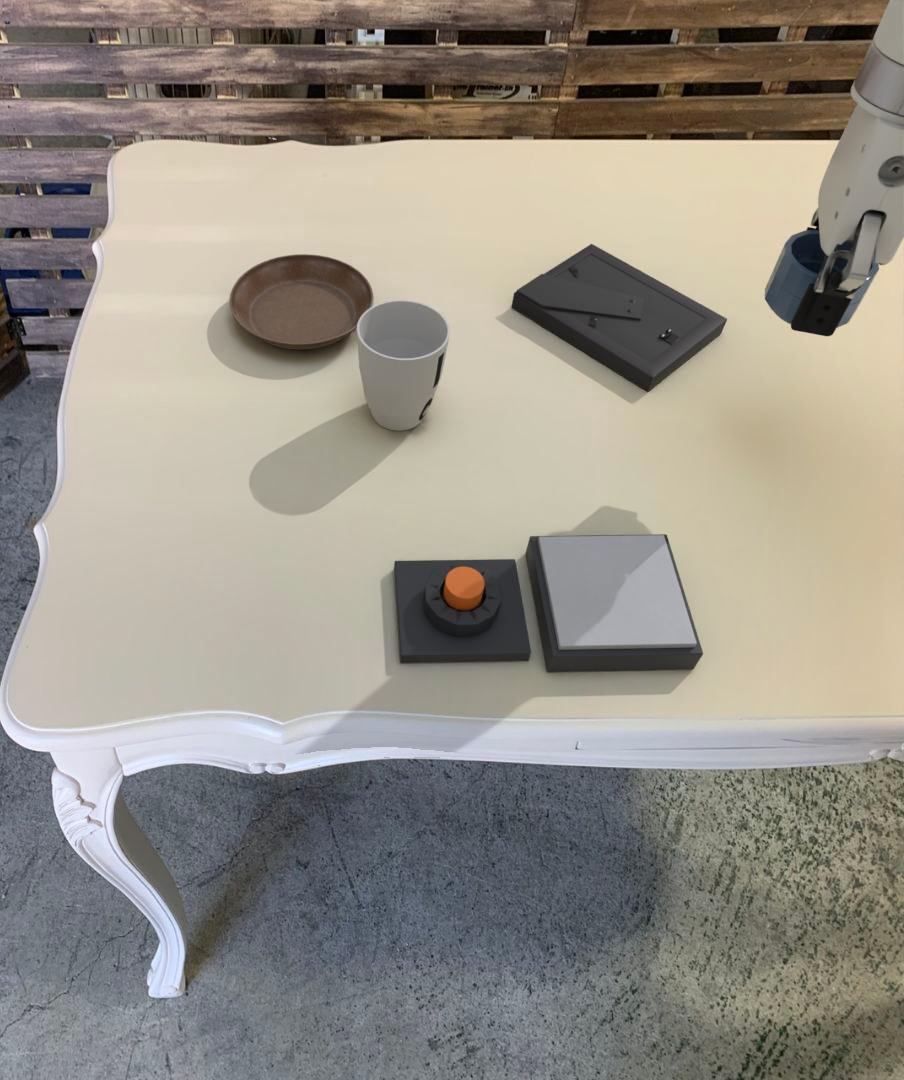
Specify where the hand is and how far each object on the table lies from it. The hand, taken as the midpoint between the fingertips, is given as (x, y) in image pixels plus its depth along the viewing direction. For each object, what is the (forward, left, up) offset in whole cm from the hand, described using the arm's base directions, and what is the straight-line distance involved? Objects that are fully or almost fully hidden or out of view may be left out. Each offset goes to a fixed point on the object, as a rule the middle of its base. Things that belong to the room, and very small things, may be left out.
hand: (809, 300), depth 73 cm
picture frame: (+13, -14, -16) cm, 25 cm away
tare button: (+22, +27, -13) cm, 37 cm away
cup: (+32, +6, -16) cm, 36 cm away
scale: (+11, +24, -15) cm, 30 cm away
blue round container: (0, 0, -1) cm, 1 cm away
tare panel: (+22, +27, -15) cm, 38 cm away
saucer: (+45, -5, -16) cm, 48 cm away
